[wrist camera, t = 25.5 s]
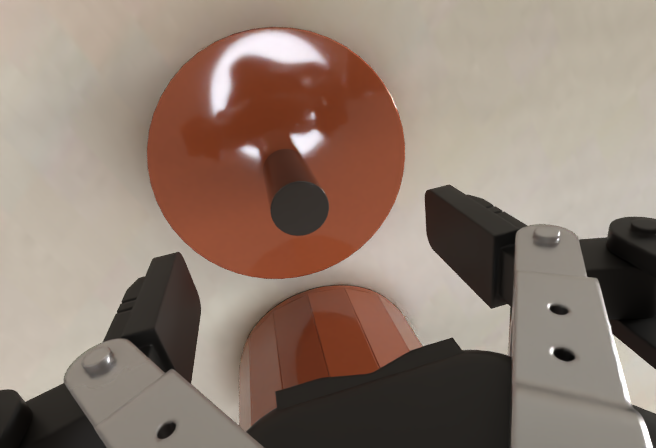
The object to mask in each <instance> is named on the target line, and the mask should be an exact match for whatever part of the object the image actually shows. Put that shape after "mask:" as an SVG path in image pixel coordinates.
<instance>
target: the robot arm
mask: <svg viewBox="0 0 656 448" xmlns="http://www.w3.org/2000/svg"><path fill="white" fill-rule="evenodd" d="M425 212H426V231H427V237H428V241H429V243H430V246H431V247H432V249H433V250H434V251H435V252H436V253H437V254H438V255H439V256H440V257H441V258H442V259H443V260H444V261H445V262H446V263H447V264H448V265H449V266H450V267H451V268H452V269H453V270H454V271H455V272H456V273H457V274H458V275H459V276H460V278H461V279H462V280H463V281H464V282H465V283H466V284H467V285H468V286H469V287H470V288H471V289H472V290H473V291H474V292H475V293H476V294H477V295H478V296H479V297H480V298H481V299H482V300H483V301H484V302H485V303H486V304H487V305H488V306H489V307H490V308H491V309H492V308H495V307H499V306H502V305H505V304H509V305H510V306H511V307H510V324H509V347H508V356H507V355H504V354H500V353H495V352H490V351H481V350H461V348H460V347H459V346H458V344H457V343H456V342H455V340H454V339H453V338H449V339H446V340H443V341H440V342H436V343H433V344H430V345H427V346H423V347H420V348H417V349H413V350H411V351H409V352H407V353H405V354H404V355H402V356H400V357H398V358H397V359H395V360H393V361H392V362H390V363H388V364H386V365H385V366H383V367H381V368H379V369H378V370H376V371H374V372H372V373H369V374H360V375H348V376H336V377H324V378H318V379H315V380H312V381H309V382H305V383H302V384H299V385H295V386H292V387H289V388H286V389H282V390H279V391H276V392H275V394H276V403H277V408H275V409H273V410H272V411H270V412H269V413H267V414H266V415H264V416H263V417H262V418H260V419H259V420H258V421H257V422H256V423H254V424H253V425H252V426H251V427H250V428H249V429H248V430H247V431H244V430H243V429H242V428H241V427H240V426H239V425H237V424H236V423H235V422H234V421H233V420H232V419H231V418H229V417H228V416H227V415H226V414H225V413H224V412H223V411H221V410H220V409H219V408H218V407H217V406H216V405H214V404H213V403H212V402H211V401H210V400H209V399H208V398H206V397H205V396H204V395H203V394H202V393H201V392H199V391H198V390H197V389H196V388H195V387H194V386H193V385H191V380H192V373H193V366H194V359H195V351H196V344H197V337H198V330H199V323H200V315H201V304H200V299H199V295H198V292H197V290H196V287H195V285H194V283H193V280H192V278H191V275H190V273H189V270H188V268H187V265H186V263H185V260H184V258H183V256H182V255H181V253H180V252H176V253H172V254H168V255H164V256H160V257H156V258H153V259H152V261H151V264H150V266H149V269H148V271H147V274H146V276H145V277H141V278H138V279H137V280H136V281H135V282H134V283H133V284H132V285H131V286H130V287H129V288H128V289H127V291H126V293H125V295H124V297H123V300H122V304H120V306H119V308H118V310H117V314H116V315H115V317H114V319H113V321H112V323H111V326H110V328H109V330H108V332H107V334H106V336H105V339H104V341H103V342H102V343H100V344H98V345H96V346H94V347H92V348H90V349H88V350H87V351H86V352H84V353H83V354H81V355H80V356H79V357H78V358H77V359H76V360H75V361H74V362H73V363H72V364H71V365H70V366H69V368H68V369H67V371H66V373H65V376H64V383H63V384H61V385H59V386H57V387H55V388H53V389H51V390H49V391H47V392H45V393H43V394H41V395H39V396H37V397H35V398H33V399H31V400H29V401H26V402H25V401H24V400H23V399H22V398H21V396H20V395H19V394H18V393H17V392H16V391H14V390H0V448H656V414H655V413H652V412H650V411H647V410H644V409H642V408H639V407H637V406H634V405H632V404H631V401H630V398H629V394H628V390H627V387H626V383H625V379H624V375H623V371H622V368H621V364H620V360H619V356H618V352H617V349H616V345H615V341H614V337H613V335H615V336H616V337H617V338H618V339H619V340H621V341H622V342H623V343H624V344H626V345H627V346H628V347H629V348H630V349H632V350H633V351H634V352H635V353H636V354H638V355H639V356H640V357H641V358H643V359H644V360H645V361H646V362H647V363H649V364H650V365H651V366H652V367H654V368H655V369H656V219H652V218H646V217H625V218H620V219H616V220H614V221H613V222H611V224H610V226H609V231H608V236H607V238H594V239H580V240H579V239H578V237H577V235H576V234H574V233H573V232H572V231H570V230H568V229H565V228H562V227H559V226H554V225H546V224H538V225H530V226H527V225H525V224H524V223H522V222H520V221H519V220H517V219H515V218H514V217H512V216H510V215H509V214H507V213H506V212H502V210H501V209H499V208H497V207H496V206H495V207H494V206H493V205H492V204H491V203H489V202H487V201H486V200H484V199H482V198H478V197H474V196H471V195H465V194H464V193H462V192H461V191H459V190H457V189H456V188H454V187H453V186H451V185H446V186H442V187H438V188H434V189H430V190H427V191H426V193H425Z"/></svg>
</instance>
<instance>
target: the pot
mask: <svg viewBox="0 0 656 448" xmlns="http://www.w3.org/2000/svg"><path fill="white" fill-rule="evenodd" d="M420 347H423V346H422V345H421V343H420V341H419V340H418V338H417V337H416V335H415V333H414V332H413V330H412V329H411V327H410V325H409V324H408V322H407V320H406V319H405V317H404V316H403V314H402V312H401V311H400V310H399V309H397V308H396V306H395V305H394V304H393V303H392V302H390V301H389V300H388V299H387V298H385V297H383V296H382V295H380V294H378V293H376V292H374V291H371V290H369V289H365V288H361V287H356V286H348V285H334V286H324V287H319V288H315V289H311V290H308V291H305V292H302V293H299V294H297V295H295V296H293V297H290V298H288V299H287V300H285V301H283V302H282V303H280V304H278V305H277V306H276V307H274V308H273V309H272V310H270V311H269V312H268V313H267V314H266V315H265V316H264V317H263V318H262V319H261V320H260V321H259V322H258V323H257V325H256V326H255V327H254V328H253V330H252V332H251V333H250V335H249V336H248V338H247V341H246V343H245V345H244V348H243V352H242V356H241V363H240V367H239V426H240V427H241V428H242V429H243V430H244V431H247V430H248V429H249V428H250V427H251V426H252V425H253V424H254V423H256V422H257V421H258V420H259V419H260V418H262V417H263V416H264V415H266V414H267V413H269V412H270V411H272V410H273V409H275V408H277V403H276V394H275V392H276V391H279V390H282V389H286V388H289V387H292V386H295V385H299V384H302V383H305V382H309V381H312V380H315V379H318V378H324V377H336V376H348V375H360V374H369V373H372V372H374V371H376V370H378V369H379V368H381V367H383V366H385V365H386V364H388V363H390V362H392V361H393V360H395V359H397V358H398V357H400V356H402V355H404V354H405V353H407V352H409V351H411V350H413V349H417V348H420Z"/></svg>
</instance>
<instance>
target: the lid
mask: <svg viewBox="0 0 656 448" xmlns="http://www.w3.org/2000/svg"><path fill="white" fill-rule="evenodd" d="M404 161H405V142H404V135H403V128H402V124H401V120H400V117H399V113H398V110H397V108H396V106H395V103H394V101H393V99H392V96H391V95H390V93H389V91H388V90H387V88H386V86H385V85H384V83H383V81H382V80H381V79H380V78H379V76H378V75H377V74H376V73H375V71H374V70H373V69H372V68H371V67H370V66H369V65H368V64H367V63H366V62H365V61H364V60H363V59H362V58H361V57H360V56H358V55H357V54H355V53H354V52H353V51H351V50H350V49H348V48H347V47H345V46H344V45H342V44H340V43H338V42H336V41H334V40H332V39H330V38H328V37H326V36H323V35H320V34H317V33H314V32H311V31H306V30H301V29H296V28H287V27H266V28H257V29H251V30H247V31H243V32H239V33H235V34H232V35H230V36H228V37H225V38H223V39H221V40H218V41H216V42H214V43H213V44H211V45H209V46H208V47H206V48H205V49H203V50H201V51H200V52H198V53H197V54H196V55H195V56H194V57H192V58H191V59H190V60H189V61H188V62H187V63H186V64H184V65H183V66H182V68H181V69H180V70H179V71H178V72H177V73H176V75H175V76H174V77H173V78H172V79H171V81H170V82H169V84H168V86H167V87H166V89H165V90H164V92H163V94H162V95H161V97H160V99H159V102H158V104H157V106H156V109H155V111H154V114H153V117H152V121H151V125H150V129H149V135H148V144H147V164H148V172H149V177H150V183H151V186H152V189H153V192H154V195H155V198H156V201H157V203H158V205H159V207H160V209H161V211H162V213H163V215H164V217H165V218H166V220H167V221H168V223H169V224H170V226H171V227H172V228H173V230H174V231H175V232H176V233H177V234H178V235H179V237H180V238H181V239H182V240H183V241H184V242H185V243H186V244H187V245H188V246H190V247H191V248H192V249H193V250H194V251H195V252H197V253H198V254H200V255H201V256H203V257H204V258H205V259H207V260H208V261H210V262H212V263H214V264H216V265H218V266H220V267H222V268H224V269H227V270H230V271H232V272H235V273H238V274H242V275H247V276H251V277H258V278H266V279H284V278H294V277H300V276H304V275H309V274H312V273H315V272H319V271H322V270H324V269H326V268H329V267H331V266H333V265H335V264H337V263H339V262H341V261H342V260H344V259H346V258H347V257H349V256H350V255H352V254H353V253H354V252H356V251H357V250H358V249H360V248H361V247H362V246H363V245H364V244H365V243H366V242H367V241H368V240H369V239H370V238H371V237H372V236H373V235H374V234H375V232H376V231H377V230H378V229H379V228H380V226H381V225H382V223H383V222H384V220H385V219H386V217H387V216H388V214H389V212H390V210H391V208H392V206H393V204H394V202H395V200H396V197H397V194H398V191H399V189H400V185H401V181H402V176H403V170H404Z"/></svg>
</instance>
